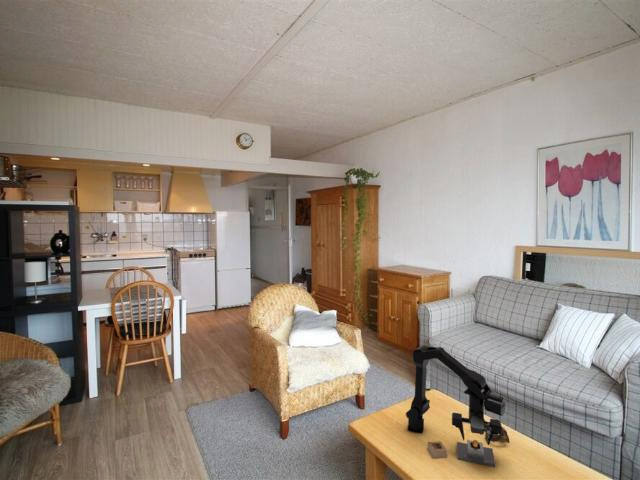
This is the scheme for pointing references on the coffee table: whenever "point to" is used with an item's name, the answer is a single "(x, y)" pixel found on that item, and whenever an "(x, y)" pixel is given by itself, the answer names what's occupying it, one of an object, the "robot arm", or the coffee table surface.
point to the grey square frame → (473, 451)
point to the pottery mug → (498, 436)
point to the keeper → (464, 456)
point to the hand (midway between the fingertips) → (475, 442)
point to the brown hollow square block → (437, 449)
